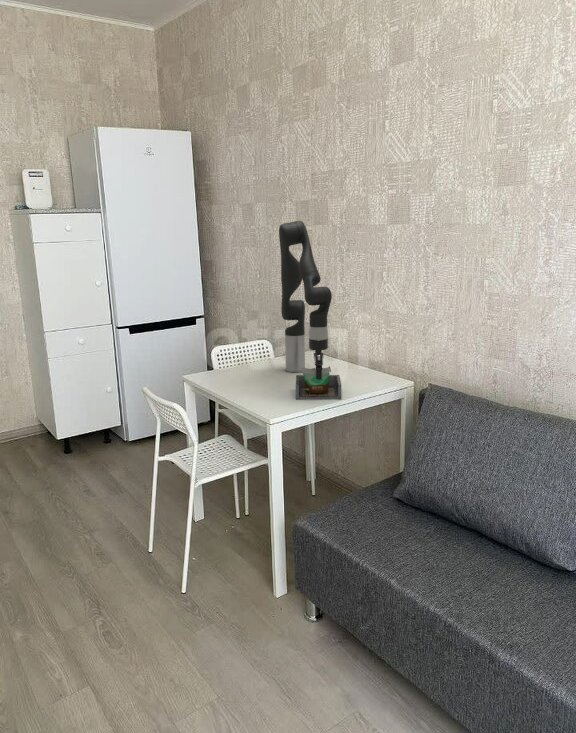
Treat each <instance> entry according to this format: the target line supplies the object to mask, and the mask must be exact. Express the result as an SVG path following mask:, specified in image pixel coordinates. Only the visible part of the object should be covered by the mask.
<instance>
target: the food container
mask: <svg viewBox="0 0 576 733" xmlns="http://www.w3.org/2000/svg"><path fill="white" fill-rule="evenodd" d="M315 368H316V367H314V368H306V367H305V368H303V369H302V372H300V373H301V374H302V375H303V376H304V384H305V391H306V392H308V393H324V392H327V391H328V385H329V375H330V373H332V369H331V365H329V366H328V367H322V368H323V369H322V379H321V380H317V379H316V369H315Z"/></svg>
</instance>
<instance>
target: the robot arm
mask: <svg viewBox="0 0 576 733" xmlns="http://www.w3.org/2000/svg"><path fill="white" fill-rule="evenodd" d="M278 238H279V246H280V247H279V249H280V262H281V263H280V267H281V268H280V280H281V281H280V282H281V318H282V319H283V320H285V321H296V323H295V324H293V325H291V326H288V327H286V328H285V329H284V342H285V343H284V345H285V346H284V347H285V350H284V352H285V356H284V357H285V371H286V372H289V373H301V372H302V369H303V368H306V342H305V341H306V339H305V338H306V336H305V331H306V330H305V320H306V319H305V315H306V304H305V302H306V303H307V304H308V305H309V306H310V307H311V306H318V308H317V309H315V310H311V311H310V313H309V318H308V319H309V330H308V347H309V350H311V351H314V352H313V361H314V366H315V367H314V368H315V369H316V379H317V380H321V379H322V369H323V368H324V367H323V366H324V358H325V357H324V352H322V351H326V350H328V348H329V331H328V330H329V329H328V315H329V311H330V307H331V303H332V300H333V299H332V298H333V295H332V292H331V289H330V288H329V287H328V286H318V285H319V284H320V282H321V278H322V277H321V274H320V273H319V272H320V271H319V270H318V267H317V265H316V262H315V259H314V256H313V254H314V253H313V250H312V246H311V245H312V244H311V241H310V238H309V234H308V229H307V227H306V225H305V223H304V222H303V221H302V220H296V221H290V222H285V223H282V224H280V225H279V228H278ZM299 244H301V246H302V251H301V255H300V258H299V260H298V259H297V258H296V257H295V256H294V255H293V253H292V252H291V250H290V247H291V246H295V245H299ZM302 282H303V289H304V290H303V292H304V300H302V299H293V300H292V299H291V297H292V295H293V294H294V293H295V292H296V291H297V290H298V288H299V287H300V286H301V284H302ZM316 286H317V287H316ZM290 299H291V300H290ZM304 301H305V302H304Z"/></svg>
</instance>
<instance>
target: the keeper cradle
mask: <svg viewBox="0 0 576 733" xmlns="http://www.w3.org/2000/svg"><path fill="white" fill-rule="evenodd" d="M295 377H296V378H295V401H296V400H342V381H341V377H340V374H329V385H328V391H327V392H324V393H308V392H306V391H305V384H304V376H303V374H302V375H300V374H299V375H298V374H297V375H296V376H295Z"/></svg>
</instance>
